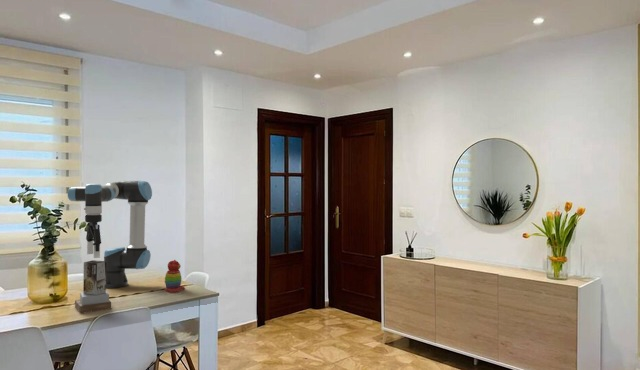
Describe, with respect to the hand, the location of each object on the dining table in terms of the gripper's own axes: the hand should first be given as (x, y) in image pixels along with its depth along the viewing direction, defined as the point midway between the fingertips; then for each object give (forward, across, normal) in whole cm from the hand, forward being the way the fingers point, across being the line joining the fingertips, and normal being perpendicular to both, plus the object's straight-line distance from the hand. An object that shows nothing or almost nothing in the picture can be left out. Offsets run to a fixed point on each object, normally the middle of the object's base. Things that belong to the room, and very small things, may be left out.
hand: (93, 255), depth 227 cm
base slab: (+27, 0, 0) cm, 27 cm away
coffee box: (+19, 0, 0) cm, 19 cm away
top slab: (+23, 0, 0) cm, 23 cm away
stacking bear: (+27, -10, +46) cm, 54 cm away
